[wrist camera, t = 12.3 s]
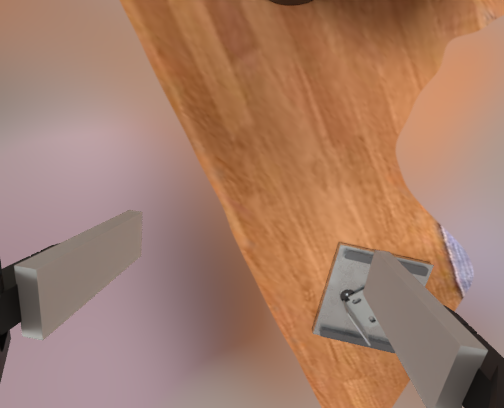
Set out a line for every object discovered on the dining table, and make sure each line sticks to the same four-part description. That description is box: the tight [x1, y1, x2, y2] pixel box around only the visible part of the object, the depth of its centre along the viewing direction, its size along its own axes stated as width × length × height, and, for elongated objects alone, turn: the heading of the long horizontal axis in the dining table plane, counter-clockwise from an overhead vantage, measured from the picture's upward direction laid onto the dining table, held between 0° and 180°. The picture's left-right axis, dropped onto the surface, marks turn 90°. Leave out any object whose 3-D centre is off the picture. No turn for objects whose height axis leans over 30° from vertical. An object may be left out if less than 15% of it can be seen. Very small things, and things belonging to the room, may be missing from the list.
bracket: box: [343, 289, 379, 346], centre depth 38 cm, size 7×10×4 cm, turn 125°
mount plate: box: [312, 242, 434, 353], centre depth 40 cm, size 16×14×2 cm
